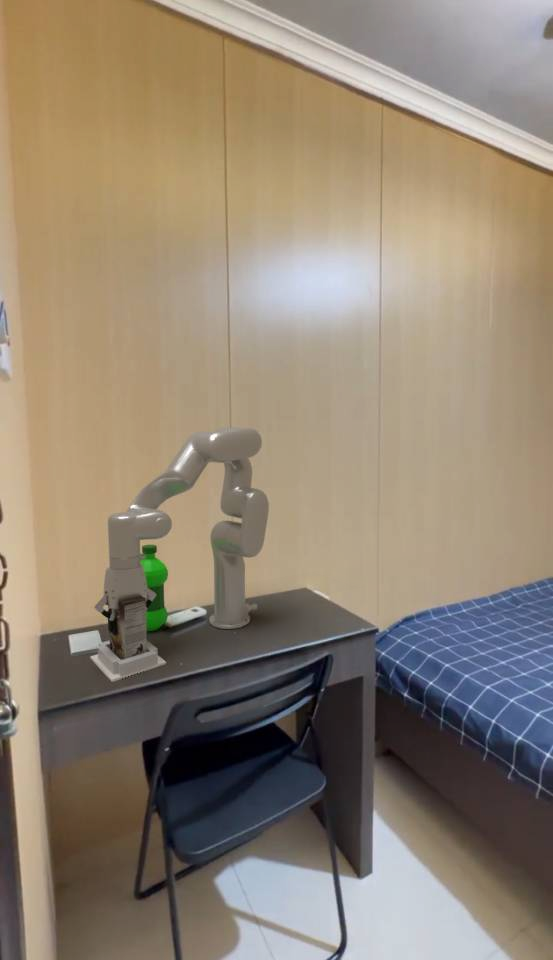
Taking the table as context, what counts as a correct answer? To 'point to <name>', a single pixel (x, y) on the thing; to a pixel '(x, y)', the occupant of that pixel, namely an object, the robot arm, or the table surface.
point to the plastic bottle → (155, 587)
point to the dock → (125, 662)
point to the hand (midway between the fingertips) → (127, 629)
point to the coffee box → (130, 628)
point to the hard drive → (84, 643)
